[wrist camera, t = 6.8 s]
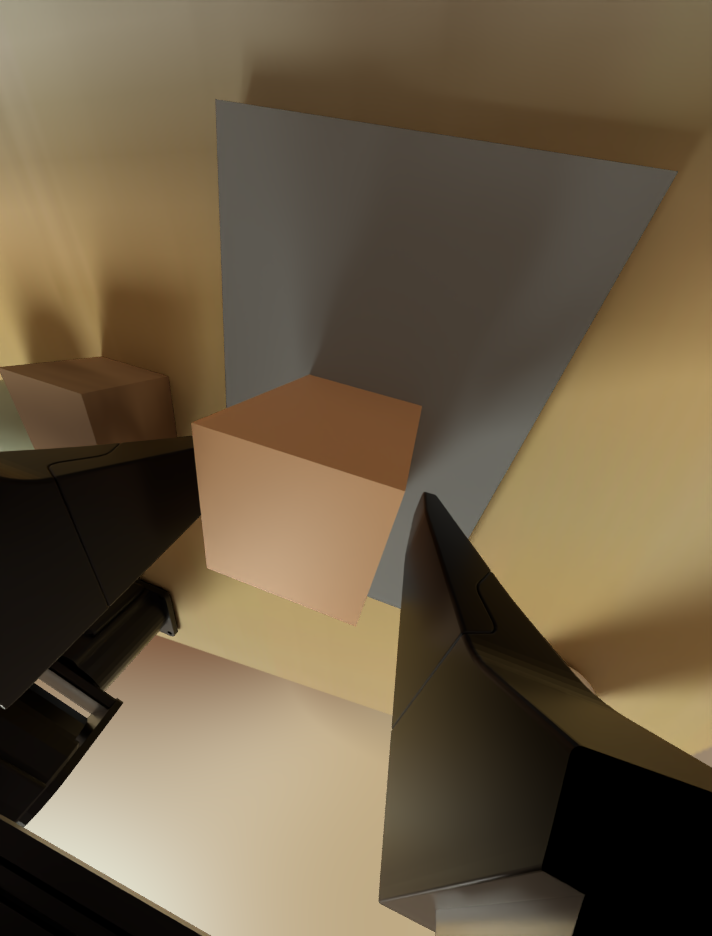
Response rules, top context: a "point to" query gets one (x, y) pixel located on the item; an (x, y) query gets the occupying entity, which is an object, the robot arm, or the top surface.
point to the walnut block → (90, 402)
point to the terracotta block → (304, 489)
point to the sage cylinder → (11, 424)
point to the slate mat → (418, 281)
